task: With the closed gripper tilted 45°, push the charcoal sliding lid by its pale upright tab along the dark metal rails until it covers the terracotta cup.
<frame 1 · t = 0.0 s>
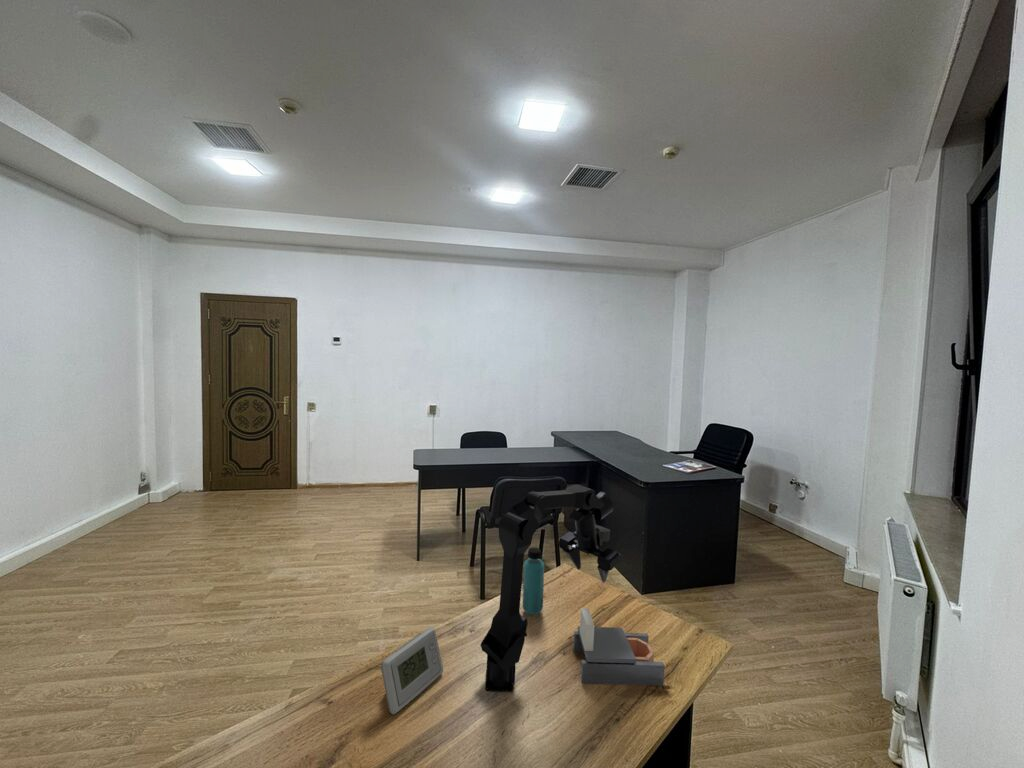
hand: (591, 574, 120), 15 cm above the table, tool pointing down, fingers open, 9 cm apart
metal rails: (615, 666, 105), on the table
terracotta cup: (634, 666, 105), on the table
beverage bottle: (532, 613, 126), on the table
digital clock: (412, 690, 95), on the table
sliding lid: (606, 631, 104), point 9 cm above the table, slide at 0.0 cm
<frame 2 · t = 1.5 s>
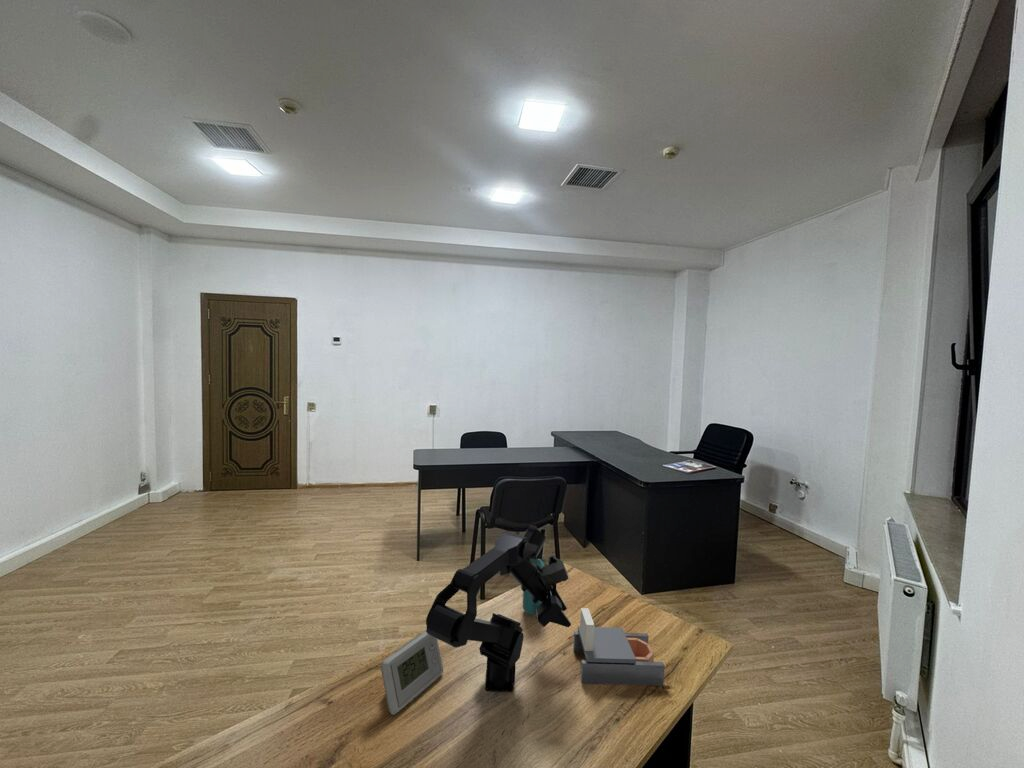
hand: (567, 617, 104), 13 cm above the table, tool tilted 45°, fingers open, 6 cm apart
nothing on the table moved.
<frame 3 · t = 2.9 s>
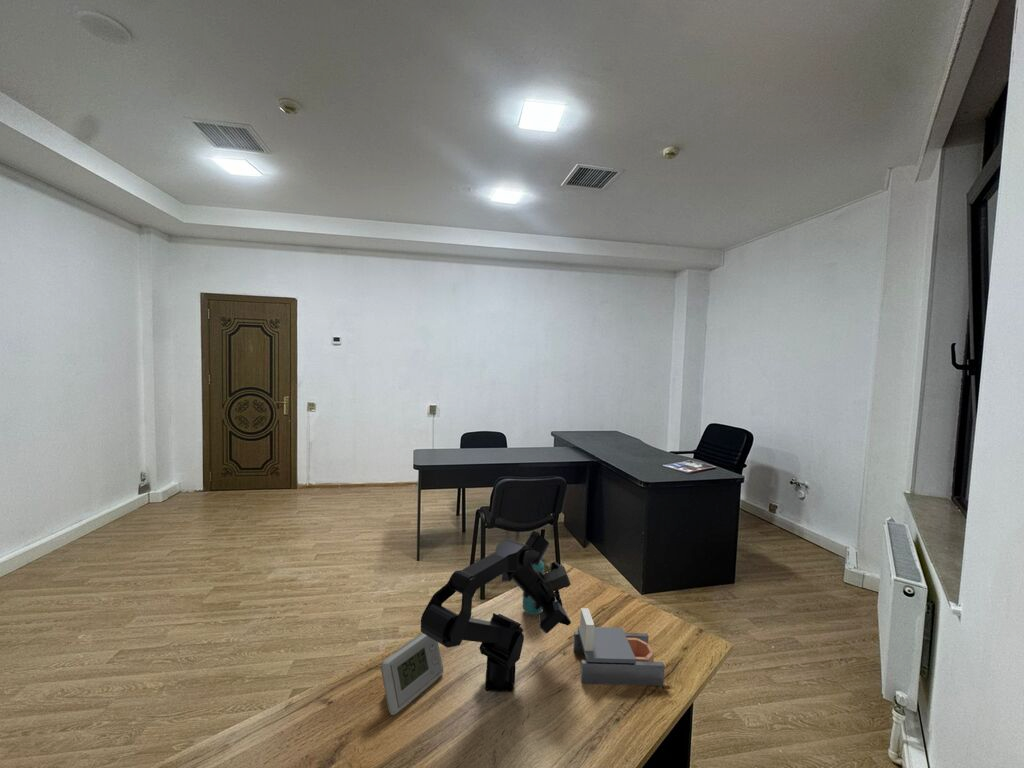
hand: (569, 623, 104), 11 cm above the table, tool tilted 45°, fingers closed
nothing on the table moved.
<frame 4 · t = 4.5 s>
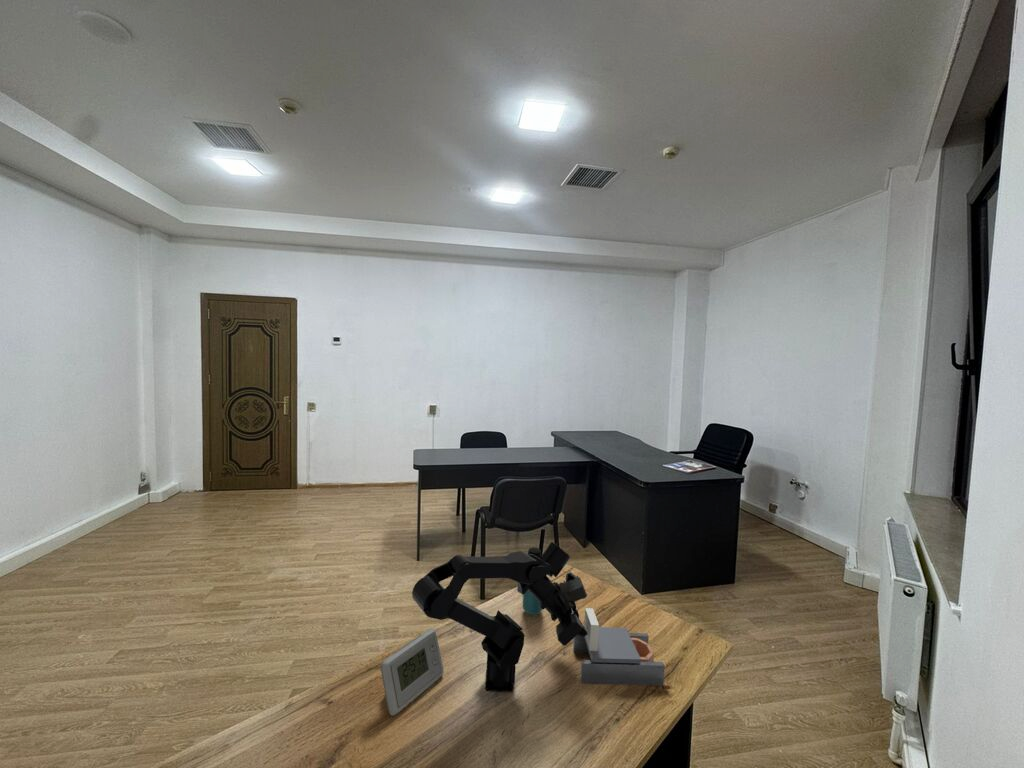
hand: (585, 634, 105), 8 cm above the table, tool tilted 45°, fingers closed, pressing on sliding lid
sliding lid: (610, 631, 104), point 9 cm above the table, slide at 1.2 cm, touching gripper
everything else where it was.
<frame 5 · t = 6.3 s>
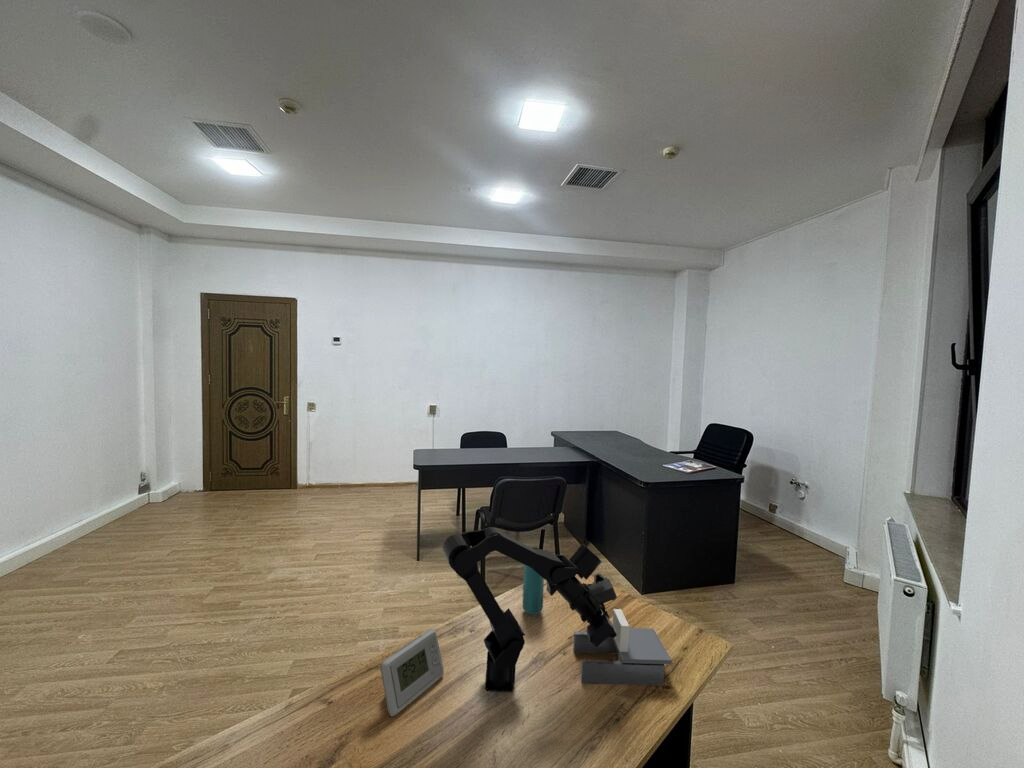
hand: (615, 635, 105), 8 cm above the table, tool tilted 45°, fingers closed, pressing on sliding lid
sliding lid: (639, 632, 105), point 9 cm above the table, slide at 8.7 cm, touching gripper
everything else where it was.
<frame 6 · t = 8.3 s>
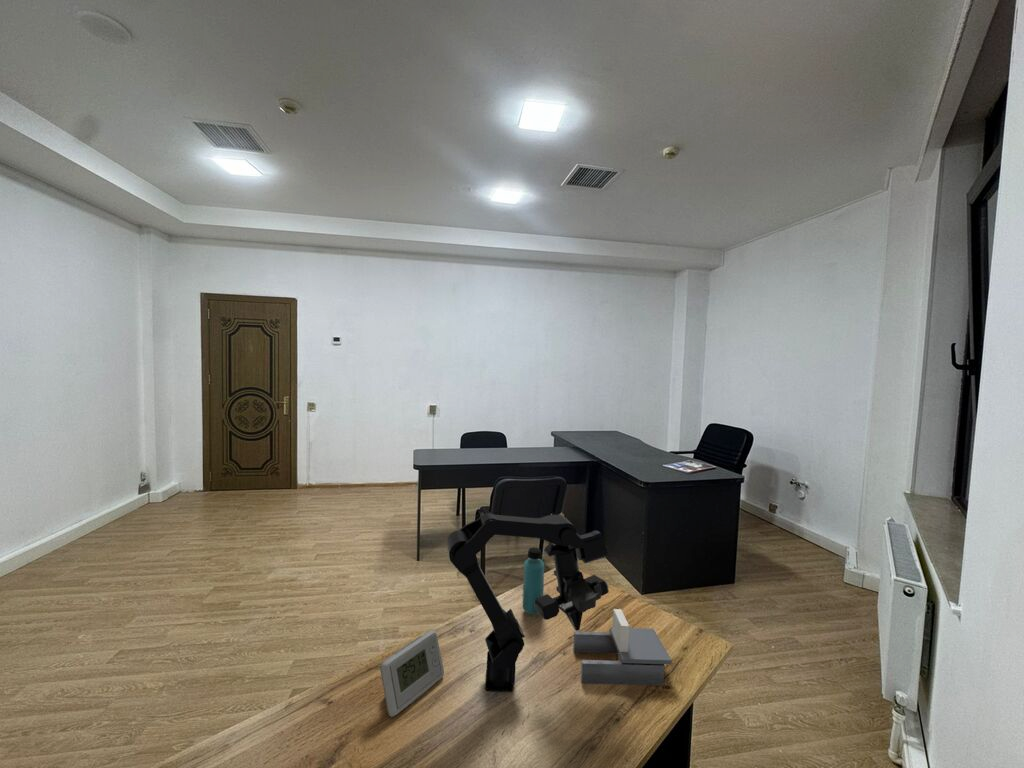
hand: (577, 629, 101), 11 cm above the table, tool pointing down, fingers closed
sliding lid: (639, 632, 105), point 9 cm above the table, slide at 8.7 cm
everything else where it was.
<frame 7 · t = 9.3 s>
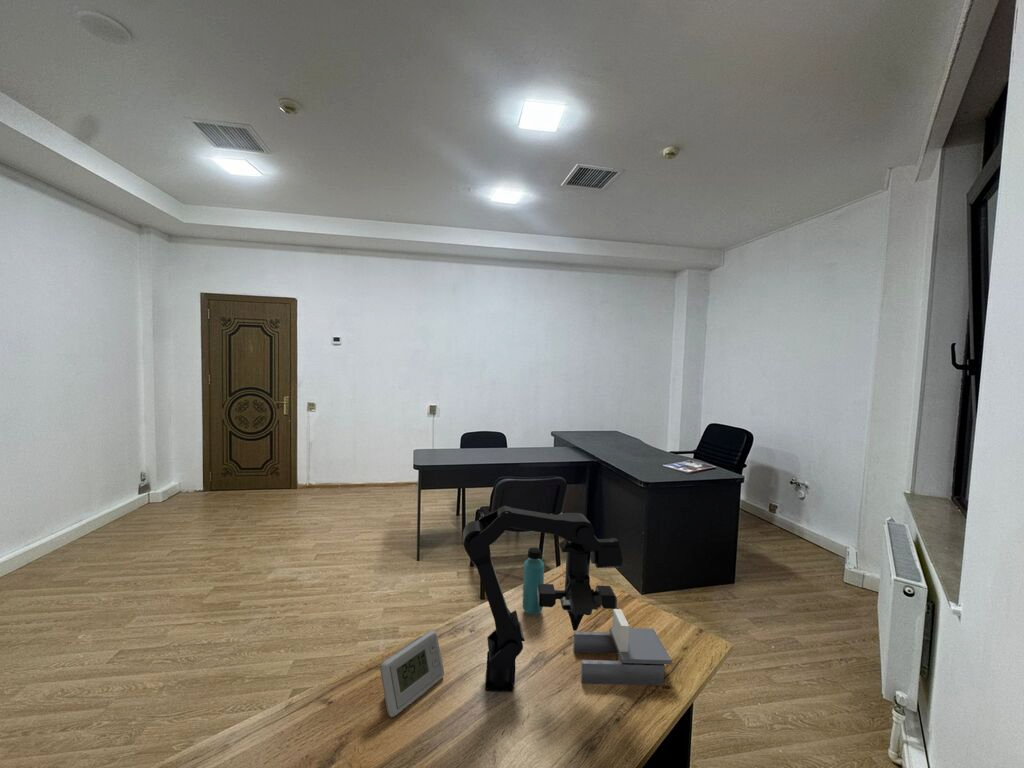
hand: (574, 629, 100), 12 cm above the table, tool pointing down, fingers closed
nothing on the table moved.
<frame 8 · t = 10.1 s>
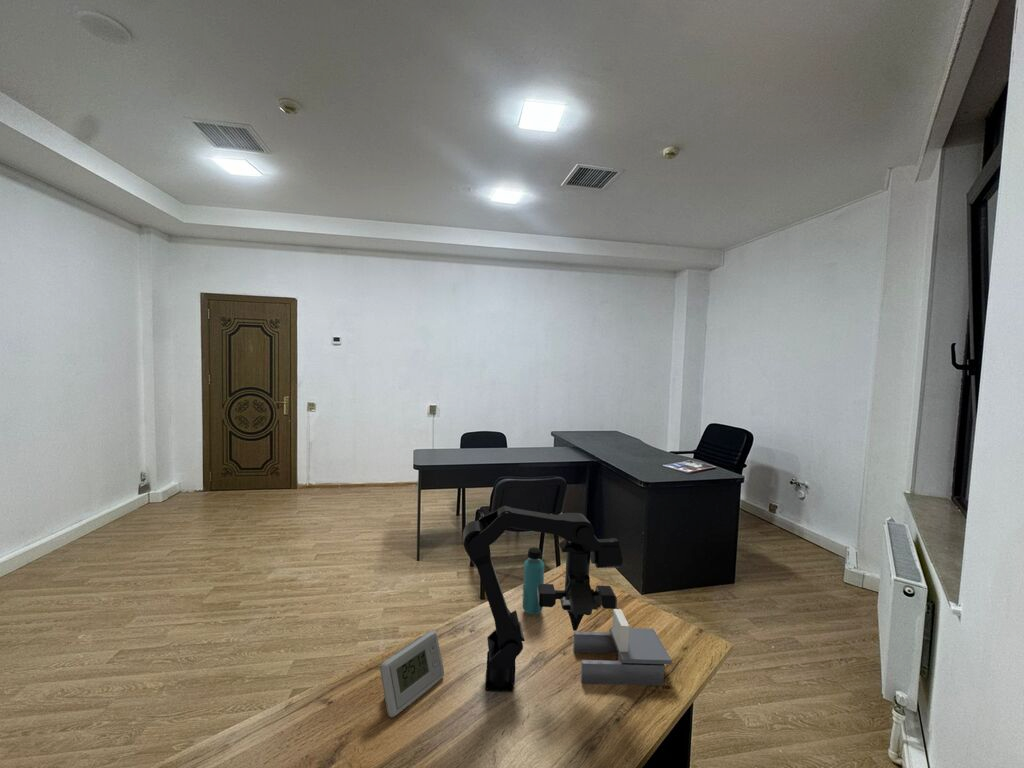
hand: (574, 629, 100), 12 cm above the table, tool pointing down, fingers closed
nothing on the table moved.
at the end: sliding lid slide at 8.7 cm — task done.
